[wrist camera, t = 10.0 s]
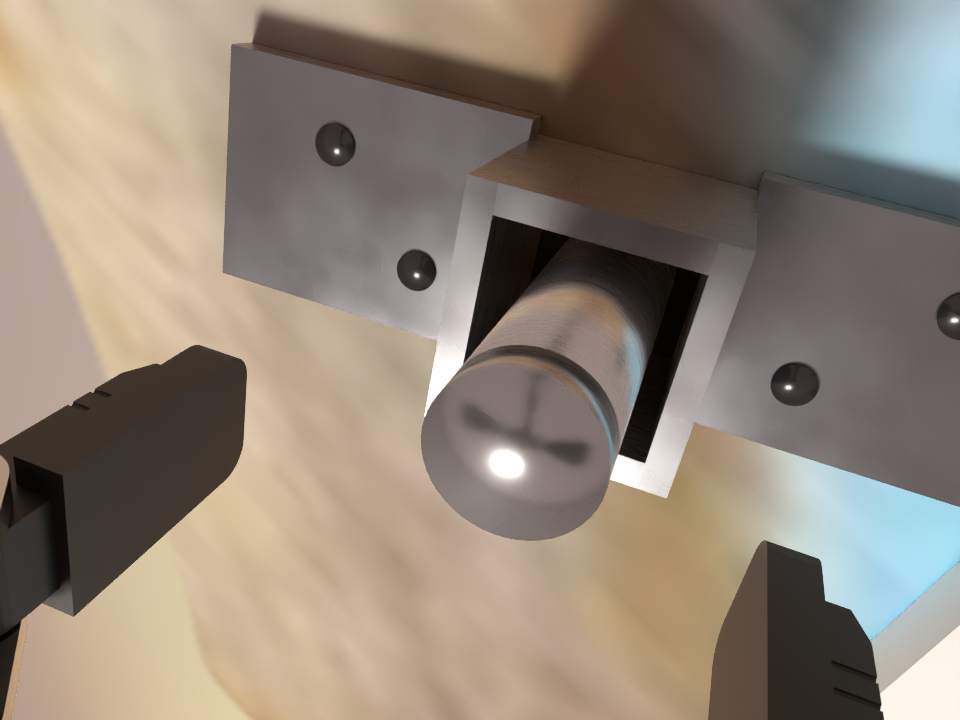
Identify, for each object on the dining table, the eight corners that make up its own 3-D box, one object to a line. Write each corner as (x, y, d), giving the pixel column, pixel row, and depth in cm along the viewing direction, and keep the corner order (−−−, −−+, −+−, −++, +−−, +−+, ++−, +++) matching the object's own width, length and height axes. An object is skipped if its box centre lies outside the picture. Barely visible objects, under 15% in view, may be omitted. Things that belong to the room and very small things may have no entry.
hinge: (251, 42, 23) (104, 53, 18) (1151, 267, 19) (1303, 369, 13) (240, 263, 27) (112, 327, 21) (1007, 504, 22) (1084, 662, 17)
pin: (577, 197, 22) (437, 343, 13) (691, 227, 22) (632, 405, 12) (552, 301, 24) (408, 502, 14) (657, 332, 23) (582, 566, 13)
